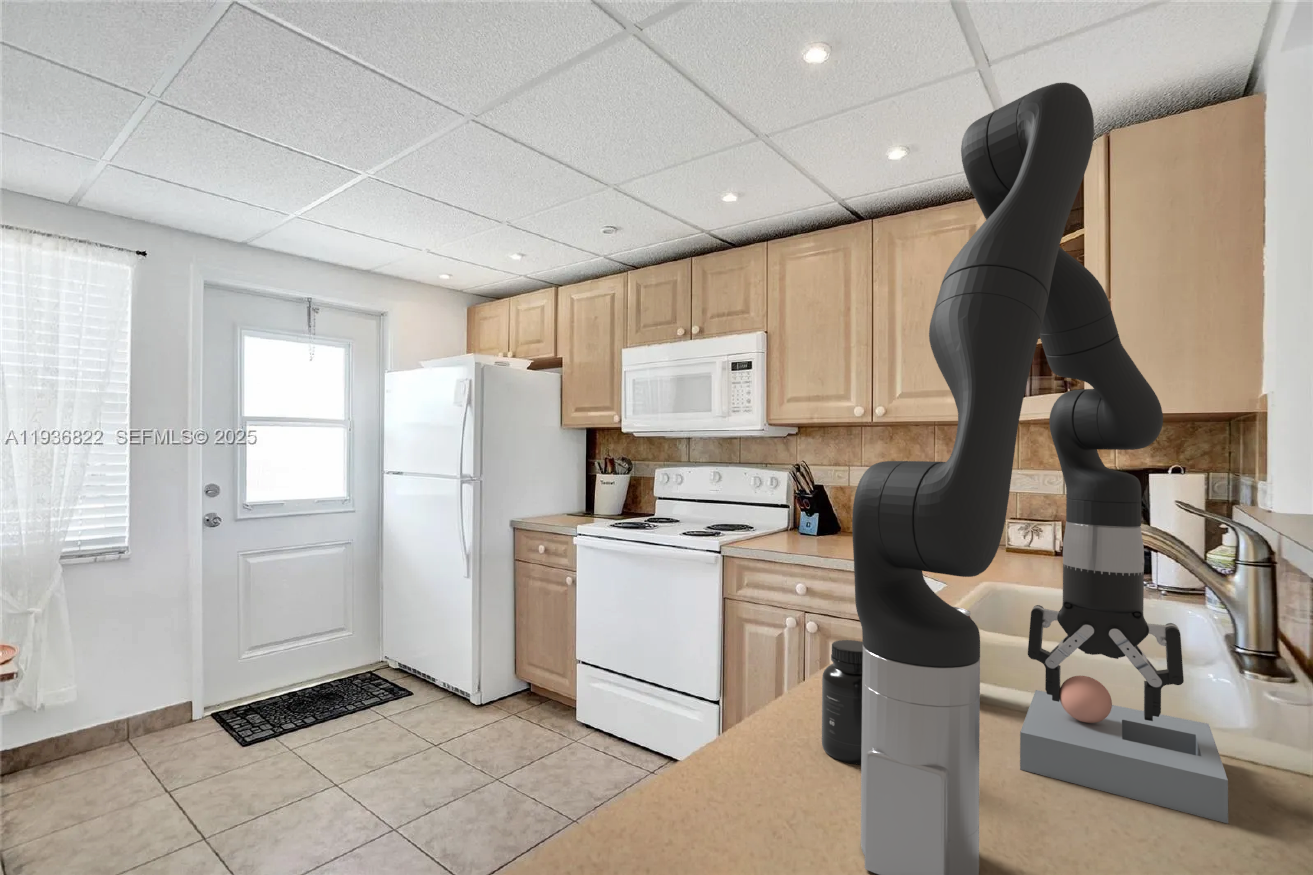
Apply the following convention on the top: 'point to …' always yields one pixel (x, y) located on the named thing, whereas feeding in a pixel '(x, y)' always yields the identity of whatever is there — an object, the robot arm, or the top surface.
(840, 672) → the supplement bottle
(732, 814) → the top surface
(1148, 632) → the robot arm
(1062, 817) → the top surface
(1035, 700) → the grey block with recess
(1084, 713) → the ball
